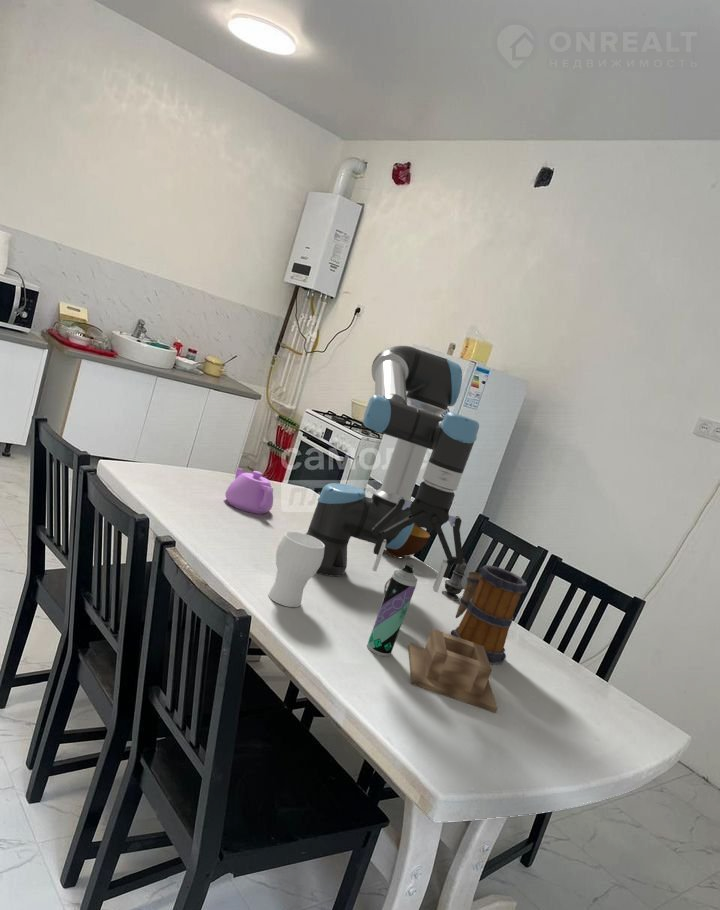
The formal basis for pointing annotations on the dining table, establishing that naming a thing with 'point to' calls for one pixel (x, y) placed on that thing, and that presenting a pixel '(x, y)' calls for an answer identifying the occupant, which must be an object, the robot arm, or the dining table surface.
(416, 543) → the bowl
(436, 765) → the dining table surface
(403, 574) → the spray can
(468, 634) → the mug
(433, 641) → the socket block
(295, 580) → the cup
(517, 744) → the dining table surface
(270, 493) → the teapot
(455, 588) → the dark grey chess piece
